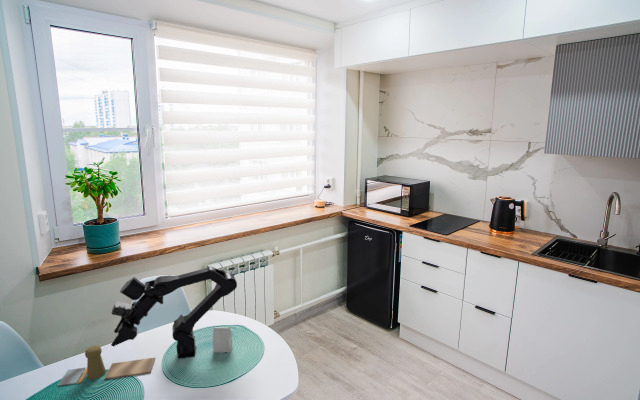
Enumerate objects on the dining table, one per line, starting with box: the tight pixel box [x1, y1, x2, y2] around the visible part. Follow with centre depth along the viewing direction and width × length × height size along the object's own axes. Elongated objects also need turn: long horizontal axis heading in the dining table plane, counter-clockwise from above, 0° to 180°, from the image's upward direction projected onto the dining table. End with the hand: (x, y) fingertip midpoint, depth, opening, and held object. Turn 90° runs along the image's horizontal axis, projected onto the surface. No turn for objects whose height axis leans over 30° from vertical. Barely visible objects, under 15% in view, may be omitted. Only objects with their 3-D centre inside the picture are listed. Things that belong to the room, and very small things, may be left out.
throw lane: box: [57, 357, 156, 387], centre depth 136 cm, size 31×8×1 cm, turn 103°
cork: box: [84, 344, 107, 381], centre depth 134 cm, size 6×6×11 cm
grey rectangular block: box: [212, 326, 233, 353], centre depth 149 cm, size 4×7×10 cm, turn 88°
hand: (113, 338), depth 135 cm, fingers open, 9 cm apart
